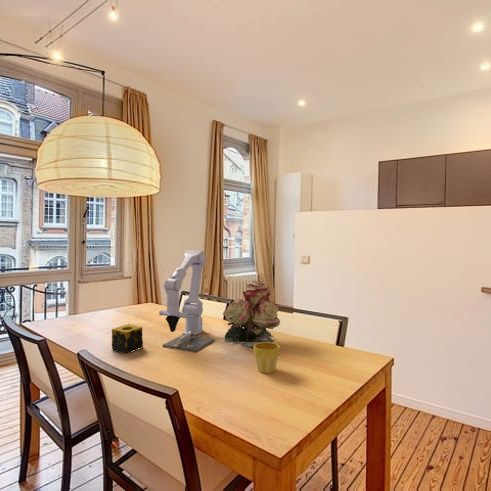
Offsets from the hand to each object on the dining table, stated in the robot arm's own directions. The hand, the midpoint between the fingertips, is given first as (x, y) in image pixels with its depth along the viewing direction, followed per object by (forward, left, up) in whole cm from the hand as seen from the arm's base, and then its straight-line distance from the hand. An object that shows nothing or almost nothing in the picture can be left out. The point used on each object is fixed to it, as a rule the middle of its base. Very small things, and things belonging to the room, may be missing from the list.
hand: (172, 331), depth 171 cm
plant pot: (+11, +52, -6) cm, 54 cm away
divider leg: (-3, +6, -5) cm, 8 cm away
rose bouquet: (-22, +34, -7) cm, 41 cm away
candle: (+14, -15, -7) cm, 22 cm away
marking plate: (-4, +7, -6) cm, 10 cm away
